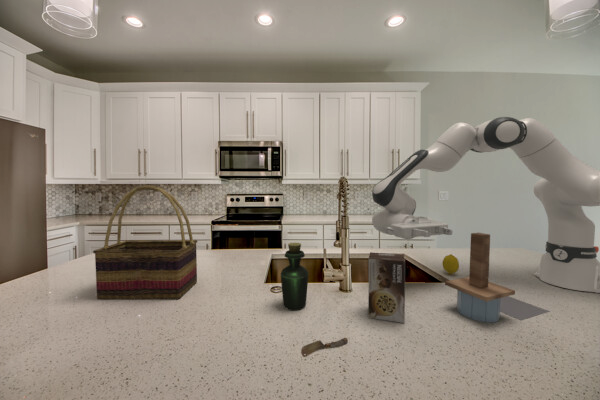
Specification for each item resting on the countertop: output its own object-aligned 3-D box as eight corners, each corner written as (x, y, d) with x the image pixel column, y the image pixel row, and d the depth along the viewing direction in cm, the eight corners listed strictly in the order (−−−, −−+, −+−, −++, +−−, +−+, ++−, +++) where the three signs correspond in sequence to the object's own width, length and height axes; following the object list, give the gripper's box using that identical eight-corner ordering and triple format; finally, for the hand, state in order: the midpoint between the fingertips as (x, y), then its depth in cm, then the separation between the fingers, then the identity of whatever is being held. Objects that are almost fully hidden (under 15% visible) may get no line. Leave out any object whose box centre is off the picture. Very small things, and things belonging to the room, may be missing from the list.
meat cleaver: (294, 345, 56) (297, 361, 51) (294, 340, 55) (296, 356, 50) (345, 339, 57) (353, 354, 52) (345, 334, 57) (353, 349, 52)
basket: (92, 300, 76) (87, 185, 74) (126, 282, 90) (122, 185, 89) (180, 300, 76) (177, 185, 74) (199, 282, 91) (197, 185, 89)
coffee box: (403, 312, 69) (404, 254, 68) (404, 324, 63) (406, 260, 62) (369, 306, 72) (369, 251, 71) (367, 317, 66) (368, 257, 65)
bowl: (471, 304, 73) (472, 281, 73) (507, 320, 65) (509, 293, 64) (449, 309, 70) (450, 285, 70) (484, 327, 61) (485, 299, 61)
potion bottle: (292, 296, 79) (291, 239, 78) (314, 303, 74) (314, 243, 73) (274, 306, 72) (274, 244, 71) (297, 315, 67) (297, 248, 66)
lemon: (461, 277, 95) (461, 256, 95) (445, 276, 97) (445, 255, 96) (455, 272, 101) (455, 252, 100) (440, 271, 102) (440, 252, 102)
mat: (497, 294, 81) (497, 292, 81) (549, 313, 68) (550, 311, 68) (470, 300, 76) (470, 299, 76) (520, 322, 64) (520, 320, 64)
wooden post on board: (471, 279, 74) (473, 229, 73) (514, 294, 64) (517, 236, 63) (445, 284, 70) (446, 231, 69) (486, 301, 60) (488, 239, 59)
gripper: (383, 219, 87) (414, 224, 74) (427, 216, 94) (463, 221, 81) (382, 237, 87) (414, 246, 74) (426, 233, 94) (462, 240, 81)
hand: (440, 233), depth 78 cm, fingers open, 8 cm apart
